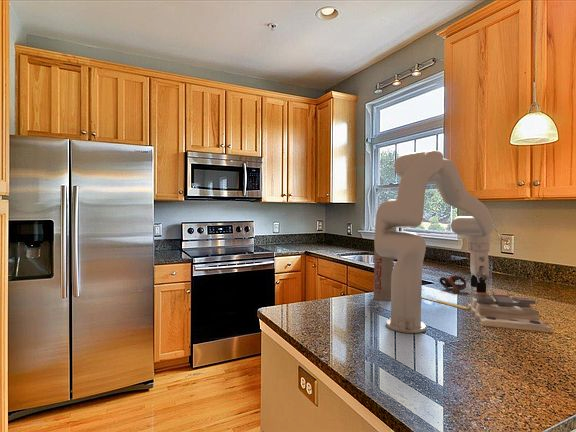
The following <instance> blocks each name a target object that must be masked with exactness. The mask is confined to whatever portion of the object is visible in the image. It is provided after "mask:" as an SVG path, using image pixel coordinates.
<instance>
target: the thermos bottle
mask: <svg viewBox="0 0 576 432" xmlns="http://www.w3.org/2000/svg"><path fill="white" fill-rule="evenodd" d="M373 250H374V251H373V252H374V255H373V258H374V259H373V272H374V273H373V274H374V276H373V299H375V300H378V301H381V302H382V301H384V302H385V301H386V302H387V301H389V302H390V301H391V275H392V270H393V268H394V259H392V258H386V257H382V256H380V255H379V254H378V253H377V252H376V250H375V247H374V249H373Z"/></svg>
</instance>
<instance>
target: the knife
mask: <svg viewBox="0 0 576 432" xmlns="http://www.w3.org/2000/svg"><path fill="white" fill-rule="evenodd" d="M421 299H425V300H428V301H429V300H430V301H433V302H436V303H440V304H443V305H446V306H452V307H454V308H457V309H458V308H459V309H463V310H466V311H467V310H469V308H468V306H465V305H459V304H455V303H452V302H449V301H448V302H447V301H444V300H441V299H433V298H429V297H425V296H422V295H421ZM469 311H470V310H469Z"/></svg>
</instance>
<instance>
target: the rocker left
mask: <svg viewBox="0 0 576 432" xmlns="http://www.w3.org/2000/svg"><path fill="white" fill-rule="evenodd" d="M473 296H474V297H475V298H476V299H477V300H478V302H488V303H493V301H494V300H493V299H494V298H492V297H493V296H491V295H490V294H489V293H488V292H486V293H483V292H476V291H474V292H473Z"/></svg>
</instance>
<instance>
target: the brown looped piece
mask: <svg viewBox="0 0 576 432" xmlns="http://www.w3.org/2000/svg"><path fill="white" fill-rule="evenodd" d="M438 280H439V283H440V285H441V286H443V288H444V289H448V288H452V289H451V292H453V293H456V292H457V291H458V292H459V291H463V290H465V289H466V288H467V281H466V279H465V278H463V277H462V276H460V275H451V276H450V277H449V278H447V277H445V276H442V277H440V278H439V279H438ZM459 280H460V281H461V282H462V283H461V284H459V283H456V281H459Z"/></svg>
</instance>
